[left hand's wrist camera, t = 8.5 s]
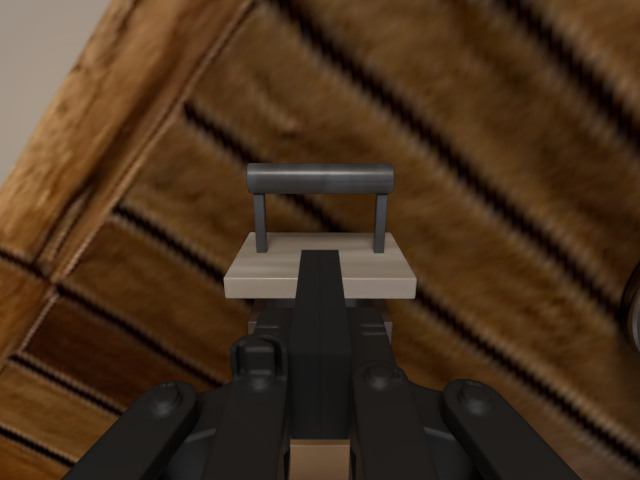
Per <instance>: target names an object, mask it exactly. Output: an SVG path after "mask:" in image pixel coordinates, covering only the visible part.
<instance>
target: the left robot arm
mask: <svg viewBox="0 0 640 480" xmlns="http://www.w3.org/2000/svg"><path fill="white" fill-rule="evenodd" d="M622 324H623V330H624V333H625V336H626V339H627V341H628V343H629V344H630V346H631V348H632V349H633V350H634V351H635V353H636V354H637V355H638V356H640V265H639V266H638V268H637V269H636V271H635V273H634V275H633V277H632V278H631V280H630V283H629V285H628V287H627V290H626V293H625V297H624V301H623V307H622ZM230 359H231V369H232V381H231V382H230V383H228V384H226V385H224V386H222V387H219V388H216V389H213V390H209V391H205V392H200V393H197V392H196V389H195V388H194V387H193V385H192V384H190V383H187V382H185V381H168V382H164V383H160V384H158V385H156V386H154V387H151V388H149V389H148V390H147V391H146V392H144V393H143V394H142V395H141V396H139V398H138V399H137V400H136V401H135V402H134V403H133V404H132V405H131V406H130V407H129V408H128V409H127V410H126V411H125V412H124V413H123V414H122V415H121V417H120V418H119V419H118V420H117V421H116V422H115V423H114V424H113V425H112V426H111V427H110V428H109V429H108V430H107V431H106V432H105V433H104V434H103V436H102V437H101V438H100V439H99V440H98V441H97V442H96V443H95V444H94V445H93V446H92V447H91V448H90V449H89V450H88V451H87V452H86V453H85V454H84V456H83V457H82V458H81V459H80V460H79V461H78V462H77V463H76V464H75V465H74V466H73V467H72V468H71V469H70V470H69V471H68V472H67V473H66V475H65V476H64V477H63V478H62V479H61V480H289V476H290V463H291V450H290V441H291V440H350V450H349V477H348V480H582V479H581V478H580V477H579V476H578V475H577V474H576V473H575V472H574V471H573V470H572V469H571V468H570V467H569V466H568V465H567V464H566V463H565V462H564V461H563V460H562V458H561V457H560V456H559V455H558V454H557V453H556V452H555V451H554V450H553V449H552V448H551V447H550V446H549V445H548V444H547V443H546V442H545V441H544V440H543V439H542V438H541V436H540V435H539V434H538V433H537V432H536V431H535V430H534V429H533V428H532V427H531V426H530V425H529V424H528V423H527V422H526V421H525V420H524V419H523V418H522V417H521V416H520V414H519V413H518V412H517V411H516V410H515V409H514V408H513V407H512V406H511V405H510V404H509V403H508V402H507V401H506V400H505V399H504V398H503V397H502V396H501V395H500V394H499V393H498V392H497V391H495V390H494V389H493V388H492V387H490V386H488V385H486V384H484V383H481V382H479V381H475V380H470V379H457V380H454V381H452V382H449V383H448V384H447V385H446V387H445V388H444V392H442V391H437V390H433V389H429V388H425V387H422V386H419V385H417V384H415V383H413V382H411V381H409V380H408V378H407V376H406V374H405V373H404V371H403V370H402V369H401V368H399V367H398V366H397V364H396V361H395V358H394V354H393V351H392V347H391V344H390V341H389V337H388V335H387V331H386V327H385V324H384V321H383V317H382V315H381V314H380V313H379V312H378V311H377V310H376V309H375V308H374V307H346V304H345V296H344V288H343V280H342V273H341V265H340V257H339V250H301V257H300V265H299V273H298V280H297V288H296V296H295V304H294V308H266V309H265V310H264V311H263V312H262V313H261V314H260V315H259V316H258V319H257V322H256V325H255V329H254V332H253V334H249V335H247V336H244V337H241V338H240V339H238V340H237V341H236V342H234V343H233V345H232V346H231V348H230Z"/></svg>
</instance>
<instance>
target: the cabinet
mask: <svg viewBox="0 0 640 480" xmlns="http://www.w3.org/2000/svg"><path fill="white" fill-rule="evenodd" d="M290 450H291V463H290V476H289V480H348V477H349V450H350V440H291V441H290Z"/></svg>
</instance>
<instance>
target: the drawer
mask: <svg viewBox="0 0 640 480" xmlns="http://www.w3.org/2000/svg"><path fill="white" fill-rule="evenodd" d="M246 177H247V188H248V191H249V193H251V194H253V202H254V219H255V233H253V232H251V233H249V235H248V237H247V239H246V240H245V242H244V244H243V246H242V247H241V249H240V251H239V253H238V254H237V256H236V258H235V260H234V261H233V263H232V265H231V267H230V268H229V270H228V272H227V273H226V275H225V277H224V288H225V297H226V298H256V299H255V302H254V305H253V308H252V310H251V313H250V316H249V319H248V322H247V323H248V335H249V334H253V332H254V329H255V325H256V322H257V319H258V316H259V315H260V314H261V313H262V312H263V311H264V310H265V309H266V308H294V304H295V296H296V288H297V280H298V273H299V265H300V257H301V250H339V257H340V265H341V273H342V280H343V288H344V296H345V304H346V307H374V308H375V309H376V310H377V311H378V312H379V313H380V314H381V315H382V317H383V321H384V324H385V327H386V331H387V335H388V337H389V341H390V344H391V338H392V326H393V322H392V319H391V316H390V313H389V310H388V307H387V304H386V301H385V299H414V298H415V292H416V282H417V279H416V277H415V275H414V273H413V271H412V270H411V268H410V266H409V264H408V263H407V261H406V259H405V257H404V256H403V254H402V252H401V250H400V249H399V247H398V245H397V243H396V242H395V240H394V238H393V236H392V235H391V233H385V230H386V215H387V200H388V195H387V194H391V193H392V191H393V187H394V167H393V164H365V163H249V164H248V166H247V175H246ZM265 194H376V202H375V220H374V233H267V227H266V207H265Z"/></svg>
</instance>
